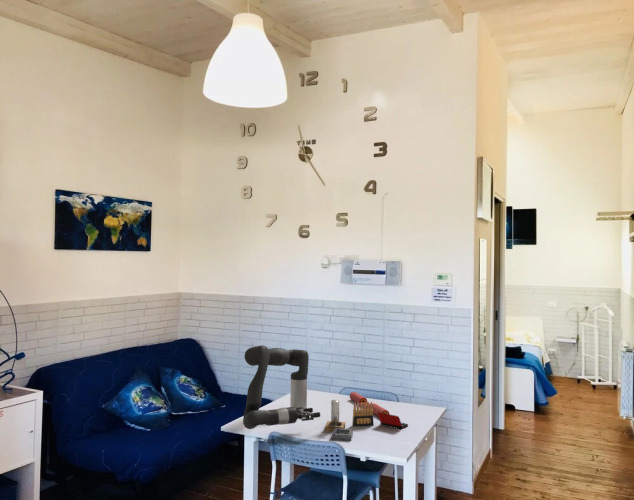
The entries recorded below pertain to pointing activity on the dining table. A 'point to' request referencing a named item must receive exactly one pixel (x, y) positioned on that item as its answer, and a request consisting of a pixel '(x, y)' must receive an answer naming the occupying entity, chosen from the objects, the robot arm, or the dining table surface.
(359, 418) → the ammunition clip
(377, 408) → the blood vessel
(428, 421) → the dining table surface
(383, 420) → the handheld game console
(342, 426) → the walnut socket block
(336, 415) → the steel axle
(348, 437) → the steel bore block
